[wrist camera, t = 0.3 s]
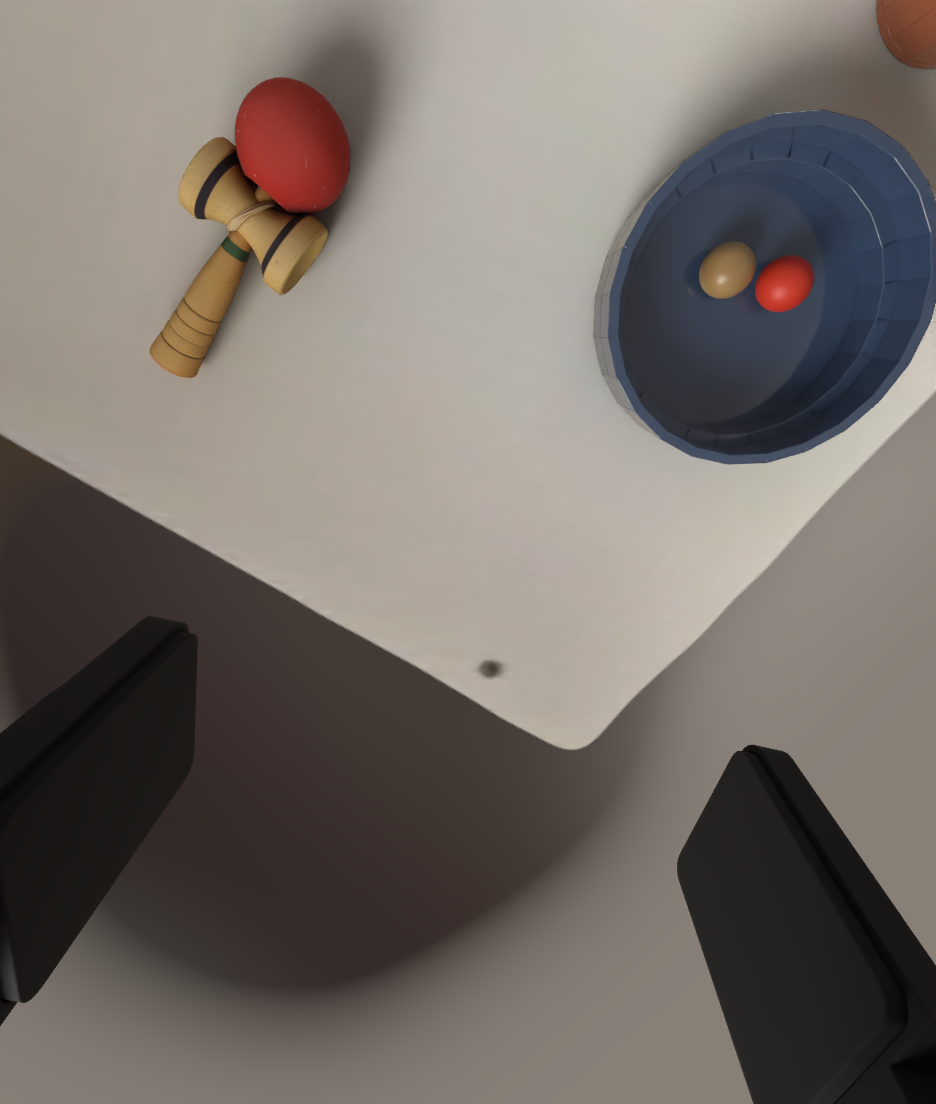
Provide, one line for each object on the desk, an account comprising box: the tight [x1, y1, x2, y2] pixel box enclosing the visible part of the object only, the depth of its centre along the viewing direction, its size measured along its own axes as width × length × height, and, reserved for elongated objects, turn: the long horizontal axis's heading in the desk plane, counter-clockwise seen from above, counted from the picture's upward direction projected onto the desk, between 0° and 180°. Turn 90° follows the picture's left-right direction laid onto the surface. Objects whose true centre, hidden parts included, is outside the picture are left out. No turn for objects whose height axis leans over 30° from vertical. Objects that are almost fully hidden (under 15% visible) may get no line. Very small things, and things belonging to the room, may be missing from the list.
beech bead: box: [699, 241, 756, 299], centre depth 32 cm, size 3×3×3 cm
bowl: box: [593, 110, 936, 464], centre depth 32 cm, size 17×17×6 cm
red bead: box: [755, 255, 814, 312], centre depth 32 cm, size 3×3×3 cm
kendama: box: [150, 78, 350, 378], centre depth 32 cm, size 8×6×18 cm
